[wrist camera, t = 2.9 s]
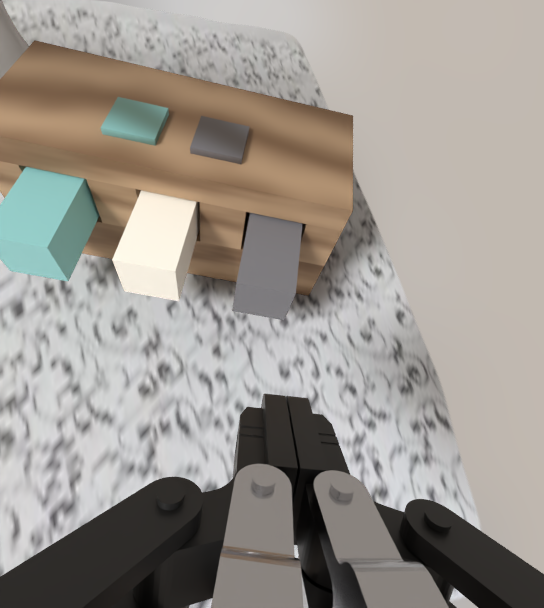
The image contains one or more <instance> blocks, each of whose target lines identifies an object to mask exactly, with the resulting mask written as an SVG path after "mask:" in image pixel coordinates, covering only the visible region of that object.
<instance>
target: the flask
mask: <svg viewBox="0 0 544 608" xmlns="http://www.w3.org/2000/svg"><path fill="white" fill-rule="evenodd" d="M28 47H29V46H28V44H27V43H26V42H25V40H24V39H23V38H22V36H21V35H20V34H19V32H18V31H17V29H16V27H15V25H14V24H13V22H12V20H11V18H10V17H9V15H8V13H7V11H6V9H5V7H4V4H3V2H2V0H0V79H1V78H2V77H3V75H4V74H5V73H6V72H7V71H8V70H9V69H10V68H11V66H12V65H13V64H14V63H15V62H16V61H17V60H18V59H19V57H20V56H21V55H22V54H23V53H24V52H25V51H26V50H27V48H28Z"/></svg>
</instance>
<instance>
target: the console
mask: <svg viewBox="0 0 544 608" xmlns="http://www.w3.org/2000/svg"><path fill="white" fill-rule="evenodd" d="M26 167H31V168H36V169H41V170H46V171H50V172H55V173H60V174H65V175H70V176H75V177H80V178H84V179H86V180H87V182H88V185H89V188H90V190H91V193H92V196H93V199H94V201H95V204H96V207H97V209H98V212H99V215H100V216H99V218H98V220H97V222H96V224H95V226H94V228H93V230H92V233H91V235H90V237H89V239H88V241H87V243H86V245H85V247H84V249H83V251H82V253H83V254H89V255H94V256H99V257H105V258H110V259H113V257H114V254H115V252H116V249H117V247H118V245H119V242H120V240H121V237H122V235H123V233H124V230H125V228H126V226H127V223H128V221H129V218H130V216H131V214H132V211H133V209H134V206H135V204H136V202H137V199H138V197H139V194H140V192H141V190H143V191H148V192H153V193H157V194H162V195H167V196H172V197H177V198H182V199H187V200H191V201H196V202H200V229H199V232H198V236H197V240H196V243H195V247H194V250H193V254H192V257H191V261H190V264H189V268H188V271H187V273H190V274H196V275H201V276H206V277H212V278H217V279H222V280H228V281H233V282H237V277H238V272H239V267H240V262H241V257H242V252H243V247H244V242H245V237H246V231H247V226H248V221H249V216H250V213H255V214H260V215H264V216H269V217H274V218H279V219H284V220H289V221H294V222H298V223H302V234H301V244H300V255H299V265H298V276H297V286H296V293H297V294H302V295H308V296H309V294H310V292H311V290H312V289H313V287H314V285H315V283H316V281H317V279H318V277H319V275H320V273H321V271H322V269H323V267H324V265H325V263H326V262H327V260H328V258H329V256H330V254H331V252H332V250H333V248H334V246H335V244H336V242H337V240H338V238H339V236H340V235H341V233H342V231H343V229H344V227H345V225H346V223H347V221H348V219H349V217H350V215H351V213H352V211H353V116H352V115H348V114H343V113H339V112H335V111H331V110H327V109H322V108H318V107H314V106H310V105H305V104H301V103H297V102H293V101H288V100H284V99H280V98H276V97H272V96H267V95H263V94H259V93H255V92H250V91H246V90H242V89H238V88H233V87H229V86H225V85H221V84H217V83H212V82H208V81H204V80H200V79H195V78H191V77H187V76H183V75H178V74H174V73H170V72H166V71H162V70H157V69H153V68H149V67H145V66H140V65H136V64H132V63H128V62H123V61H119V60H115V59H111V58H107V57H102V56H98V55H94V54H90V53H85V52H81V51H77V50H73V49H68V48H64V47H60V46H56V45H52V44H47V43H43V42H39V41H34V42H33V43H32V44H31V45H30V46H29V47H28V48H27V50H26V51H25V52H24V53H23V54H22V55H21V56H20V57H19V59H18V60H17V61H16V62H15V63H14V64H13V65H12V66H11V68H10V69H9V70H8V71H7V72H6V73H5V74H4V75H3V77H2V78H1V79H0V192H1V193H2V195H3V196H4V198H5V197H6V196H7V194H8V193H9V191H10V190H11V188H12V187H13V185H14V184H15V182H16V181H17V179H18V178H19V176H20V175H21V173H22V172H23V170H24V169H25V168H26Z"/></svg>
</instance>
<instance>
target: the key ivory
mask: <svg viewBox="0 0 544 608" xmlns="http://www.w3.org/2000/svg"><path fill="white" fill-rule="evenodd" d="M199 229H200V202H196V201H191V200H187V199H182V198H177V197H172V196H167V195H162V194H157V193H153V192H148V191H143V190H141V192H140V194H139V197H138V199H137V202H136V204H135V206H134V209H133V211H132V214H131V216H130V218H129V221H128V223H127V226H126V228H125V230H124V233H123V235H122V237H121V240H120V242H119V245H118V247H117V249H116V252H115V254H114V257H113V259H112V261H113V263H114V266H115V268H116V271H117V274H118V276H119V279H120V281H121V284H122V286H123V289H124V291H125V292H131V293H136V294H142V295H147V296H153V297H158V298H164V299H170V300H175V301H179V300H180V296H181V293H182V289H183V286H184V282H185V278H186V275H187V271H188V268H189V264H190V261H191V257H192V254H193V250H194V247H195V243H196V240H197V236H198V232H199Z"/></svg>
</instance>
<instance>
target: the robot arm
mask: <svg viewBox="0 0 544 608" xmlns="http://www.w3.org/2000/svg"><path fill="white" fill-rule="evenodd" d="M294 545H298V553H299V556H298V558H295V557H294ZM454 588H455V589H457V590H458V591H459V592H460V593H462V594H463V595H464V596H465V597H466V598H468V599H469V600H470V601H471V602H472V603H474V604H475V605H476V606H477V607H478V608H544V574H543V573H541V572H540V571H538V570H536V569H535V568H534V567H532V566H531V565H529V564H528V563H526V562H525V561H523V560H522V559H521V558H519V557H518V556H516V555H515V554H513V553H512V552H510V551H509V550H508V549H506V548H505V547H503V546H502V545H500V544H499V543H497V542H496V541H494V540H493V539H491V538H490V537H488V536H487V535H486V534H484V533H483V532H481V531H480V530H478V529H477V528H475V527H474V526H472V525H471V524H470V523H468V522H467V521H465V520H464V519H462V518H461V517H459V516H458V515H456V514H455V513H453V512H452V511H451V510H449V509H447V508H446V507H444V506H442V505H440V504H438V503H436V502H433V501H430V500H425V499H416V500H412V501H410V502H409V503H408V504H407V506H406V508H405V512H401V511H398V510H395V509H392V508H390V507H387V506H384V505H381V504H379V503H376V502H374V501H373V500H372V498H371V496H370V494H369V492H368V490H367V489H366V487H365V486H364V485H363V484H362V483H361V482H360V481H359V480H358V479H356V478H355V477H353V476H352V475H350V473H349V470H348V467H347V464H346V462H345V459H344V456H343V454H342V451H341V448H340V446H339V443H338V440H337V437H335V432H334V429H333V426H332V424H331V423H330V422H329V421H328V420H327V419H326V418H325V417H324V416H323V415H320V414H313V413H312V410H311V406H310V403H309V400H308V398H300V397H291V396H286V397H285V396H281V395H272V394H264V395H263V399H262V406H261V408H253V407H247V408H246V409H245V410H244V411H243V412H242V414H241V415H240V421H239V428H238V435H237V442H236V450H235V458H234V471H233V479H232V480H231V481H230V482H229V483H228V484H227V485H225V486H224V487H222V488H219V489H217V490H213V491H208V492H203V493H202V492H201V490H200V488H199V487H198V486H197V485H196V484H195V483H193V482H192V481H190V480H188V479H185V478H181V477H166V478H162V479H159V480H156V481H154V482H152V483H150V484H149V485H147V486H145V487H144V488H142V489H141V490H139V491H137V492H136V493H134V494H133V495H131V496H129V497H128V498H126V499H125V500H123V501H121V502H120V503H118V504H117V505H115V506H113V507H112V508H110V509H109V510H107V511H105V512H104V513H102V514H100V515H99V516H97V517H96V518H94V519H92V520H91V521H89V522H88V523H86V524H84V525H83V526H81V527H80V528H78V529H76V530H75V531H73V532H72V533H70V534H68V535H67V536H65V537H64V538H62V539H60V540H59V541H57V542H55V543H54V544H52V545H51V546H49V547H47V548H46V549H44V550H43V551H41V552H39V553H38V554H36V555H35V556H33V557H31V558H30V559H28V560H27V561H25V562H23V563H22V564H20V565H19V566H17V567H15V568H14V569H12V570H10V571H9V572H7V573H6V574H4V575H2V576H1V577H0V608H189V606H190V605H191V604H195V603H198V602H201V601H204V600H207V599H211V598H213V599H212V605H211V608H456V607H455V606H454V605H453V604H452V603H451V602H450V601H449V600H450V597H451V594H452V591H453V589H454Z"/></svg>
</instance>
